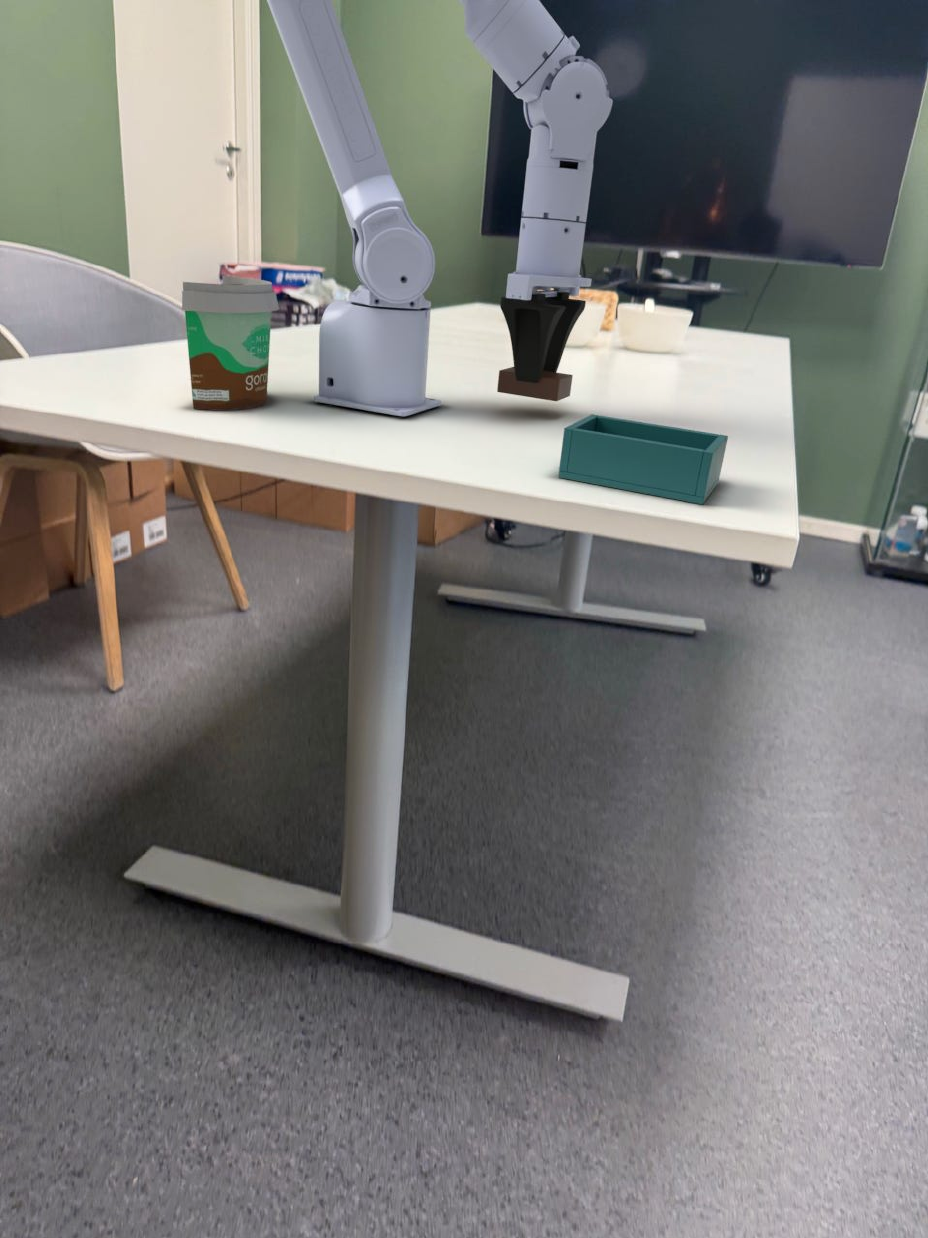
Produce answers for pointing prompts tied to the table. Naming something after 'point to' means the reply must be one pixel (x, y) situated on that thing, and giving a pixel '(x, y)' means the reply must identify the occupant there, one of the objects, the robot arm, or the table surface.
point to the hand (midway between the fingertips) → (535, 378)
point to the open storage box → (643, 457)
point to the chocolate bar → (536, 385)
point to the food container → (229, 341)
